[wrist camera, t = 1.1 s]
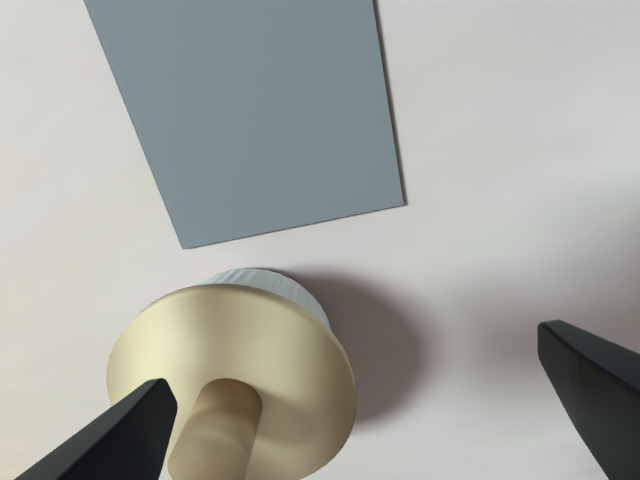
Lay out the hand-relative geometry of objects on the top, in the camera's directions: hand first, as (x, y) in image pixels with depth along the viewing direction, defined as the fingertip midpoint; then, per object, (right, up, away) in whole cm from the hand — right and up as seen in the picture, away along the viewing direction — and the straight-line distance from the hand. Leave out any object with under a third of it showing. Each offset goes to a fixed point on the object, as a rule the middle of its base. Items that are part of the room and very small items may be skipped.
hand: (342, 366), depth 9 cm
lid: (-5, -5, +10) cm, 12 cm away
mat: (-4, +10, +10) cm, 14 cm away
